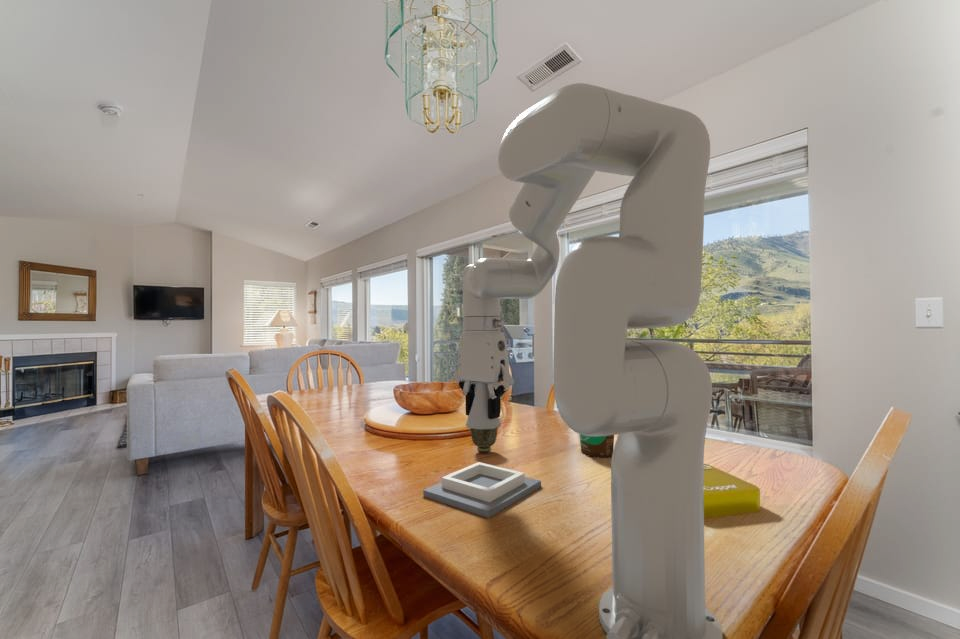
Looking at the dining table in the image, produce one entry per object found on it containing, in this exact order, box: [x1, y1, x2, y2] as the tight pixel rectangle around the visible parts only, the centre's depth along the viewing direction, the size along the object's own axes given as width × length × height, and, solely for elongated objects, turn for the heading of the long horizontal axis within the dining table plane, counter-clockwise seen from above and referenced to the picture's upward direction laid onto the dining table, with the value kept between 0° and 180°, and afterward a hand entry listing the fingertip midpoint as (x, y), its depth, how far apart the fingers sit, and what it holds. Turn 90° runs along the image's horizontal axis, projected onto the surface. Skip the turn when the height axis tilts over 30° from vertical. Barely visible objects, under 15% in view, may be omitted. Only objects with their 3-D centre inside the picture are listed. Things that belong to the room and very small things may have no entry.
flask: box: [465, 382, 501, 429], centre depth 87 cm, size 7×7×10 cm
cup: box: [469, 427, 499, 454], centre depth 113 cm, size 8×7×8 cm
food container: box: [578, 433, 615, 459], centre depth 111 cm, size 12×6×10 cm, turn 25°
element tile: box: [704, 463, 761, 519], centre depth 82 cm, size 15×15×5 cm
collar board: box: [422, 461, 542, 519], centre depth 87 cm, size 18×16×3 cm
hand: (482, 415), depth 87 cm, fingers closed on flask, 5 cm apart
